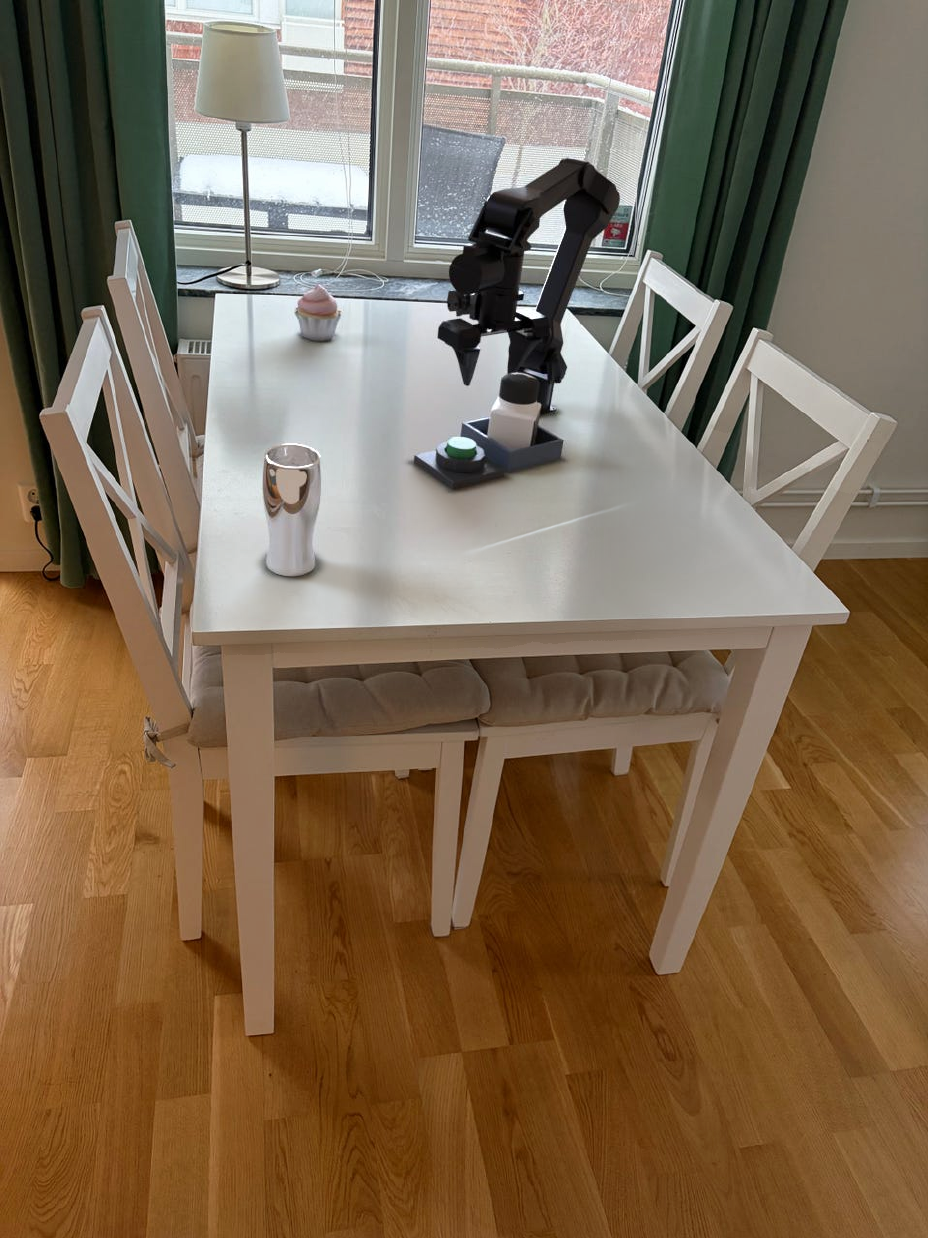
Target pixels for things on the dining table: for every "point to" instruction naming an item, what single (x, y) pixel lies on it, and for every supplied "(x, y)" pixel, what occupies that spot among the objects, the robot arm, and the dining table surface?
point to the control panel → (458, 467)
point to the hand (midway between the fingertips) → (488, 380)
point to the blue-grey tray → (540, 453)
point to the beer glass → (291, 506)
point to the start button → (461, 447)
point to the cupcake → (317, 314)
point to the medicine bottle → (515, 412)
